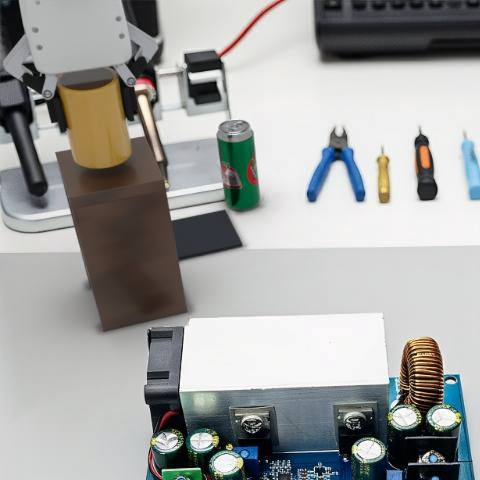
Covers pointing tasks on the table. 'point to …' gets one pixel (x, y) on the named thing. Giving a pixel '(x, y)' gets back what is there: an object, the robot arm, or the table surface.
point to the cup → (95, 117)
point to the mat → (204, 234)
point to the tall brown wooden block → (125, 237)
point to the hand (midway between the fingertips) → (95, 120)
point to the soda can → (238, 164)
